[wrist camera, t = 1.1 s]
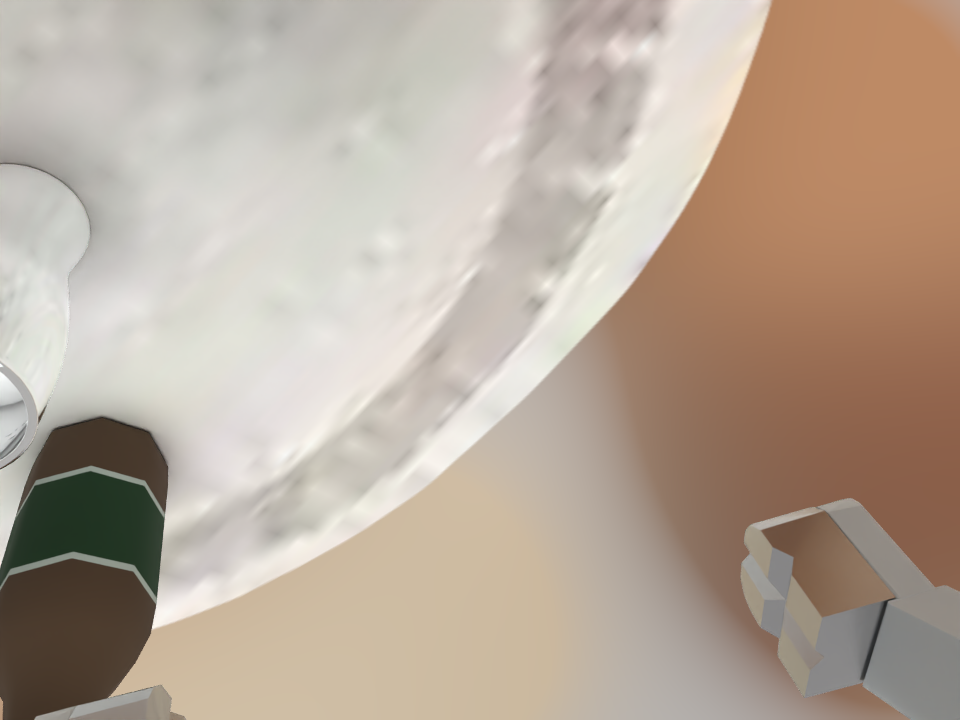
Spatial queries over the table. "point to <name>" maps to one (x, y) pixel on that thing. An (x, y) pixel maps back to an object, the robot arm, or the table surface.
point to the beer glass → (34, 296)
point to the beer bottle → (81, 568)
